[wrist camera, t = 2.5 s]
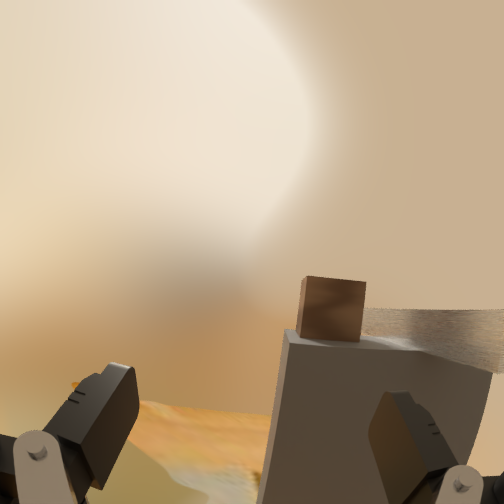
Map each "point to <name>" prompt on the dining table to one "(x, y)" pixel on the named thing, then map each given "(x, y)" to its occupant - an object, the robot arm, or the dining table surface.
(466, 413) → the stand
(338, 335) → the walnut block
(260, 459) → the dining table surface
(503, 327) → the rod
